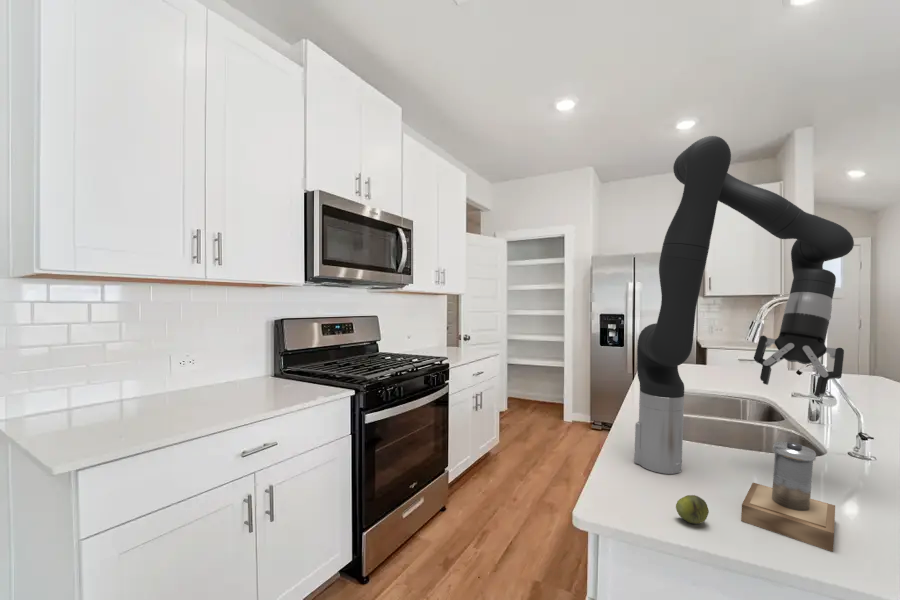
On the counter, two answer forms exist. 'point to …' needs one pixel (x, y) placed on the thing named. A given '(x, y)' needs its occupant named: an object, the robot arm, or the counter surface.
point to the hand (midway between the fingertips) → (790, 389)
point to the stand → (790, 518)
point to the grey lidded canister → (792, 475)
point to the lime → (692, 509)
